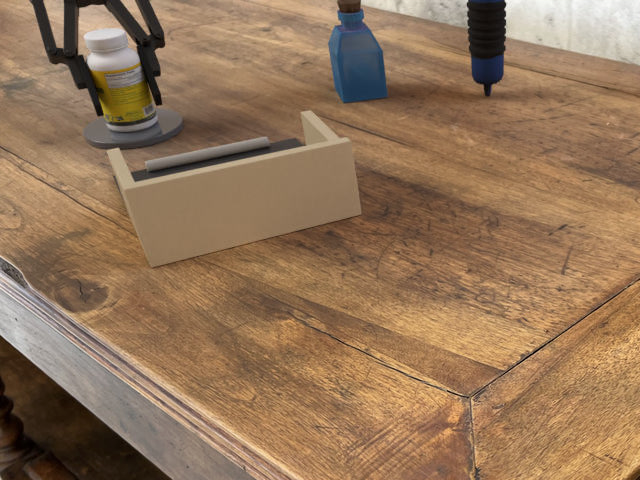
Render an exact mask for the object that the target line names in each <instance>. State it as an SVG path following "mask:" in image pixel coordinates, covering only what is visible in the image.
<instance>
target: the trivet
mask: <svg viewBox="0 0 640 480" xmlns="http://www.w3.org/2000/svg"><path fill="white" fill-rule="evenodd" d="M155 110H156V113H157V121H156V123H155V124H154V125H152V126H151V127H149V128H146V129H143V130H139V131H133V132H117V131H113V130H111V129H110V128H108V126H107V125H106V122H105V119H104V117H103V116H99V117H97V118H96V119H95V120H92V121H90V122H89V123H88V124H87V125H86V126H85V127H84V128H83V129H82V136H83V139H84V141H85V142H86V144H88V145H90V146H91V147H93V148H97V149H104V150H109V149H115V148H119V149H120V150H130V149H137V148H144V147H149V146H152V145H156V144H158V143H162V142H164V141H167V140H169V139H171V138H173V137H176V136H177V135H178V134H179V133H181V131H182V130H183V129H184V127H185V122H184V118H183V116H182V115H181V113H179V112H178V111H175V110H172V109H168V108H162V107H161V108H160V107H155Z"/></svg>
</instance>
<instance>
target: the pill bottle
mask: <svg viewBox="0 0 640 480" xmlns="http://www.w3.org/2000/svg"><path fill="white" fill-rule="evenodd" d="M83 39H84V42H85V46H86V48H87V50H88V51H90V53H88V55H87V56H86V57H85V62H86V65H87V68H88V70H89V73H90V76H91V79H92V81H93V84H94V87H95V89H96V92H97V95H98V98H99V100H100V103H101V106H102V109H103V113H104V116H102V117H104V119H105V122H106V125H107V126H108V128H110V129H111V130H113V131H117V132H133V131H139V130H143V129H146V128H149V127H151V126H152V125H154V124H155V123H156V121H157V113H156V110H155V108H156V105H155V102H154V99H153V96H152V93H151V91H150V88H149V85H148V83H147V80H146V76H145V73H144V69H143V66H142V63H141V59H140V57H139V55H138V53H137V50H135V49H133V48H131V47H129V44H130V42H129V39H128V35H127V32H126V31H125V29H123V28H119V27H118V28H117V27H106V28H105V27H104V28H99V29H94V30H90V31H88V32H86V33H85V34H84V35H83Z"/></svg>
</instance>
